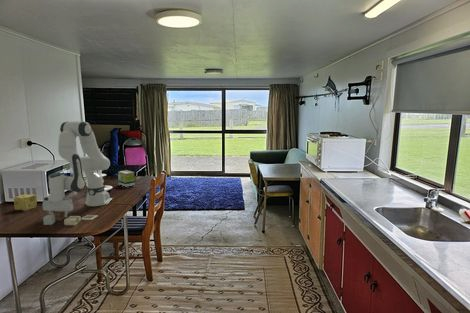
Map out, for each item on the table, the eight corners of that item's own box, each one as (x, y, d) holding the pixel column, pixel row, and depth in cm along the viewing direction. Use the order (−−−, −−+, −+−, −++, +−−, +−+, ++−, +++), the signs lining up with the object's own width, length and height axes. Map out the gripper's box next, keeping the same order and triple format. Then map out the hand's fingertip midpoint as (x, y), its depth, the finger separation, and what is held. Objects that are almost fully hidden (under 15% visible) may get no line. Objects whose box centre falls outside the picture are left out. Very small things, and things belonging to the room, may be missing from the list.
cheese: (26, 211, 219) (24, 198, 218) (13, 210, 221) (12, 197, 220) (37, 206, 229) (36, 194, 228) (25, 206, 231) (24, 193, 230)
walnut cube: (58, 217, 205) (57, 211, 205) (65, 218, 205) (64, 211, 204) (53, 220, 200) (52, 213, 200) (60, 220, 200) (59, 213, 199)
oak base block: (70, 221, 199) (70, 215, 198) (80, 221, 199) (80, 216, 198) (64, 225, 192) (64, 219, 192) (75, 225, 192) (74, 219, 191)
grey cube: (47, 222, 197) (46, 215, 196) (55, 221, 198) (54, 214, 197) (43, 225, 192) (43, 217, 191) (52, 224, 193) (51, 217, 192)
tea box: (118, 185, 300) (117, 171, 298) (127, 183, 308) (126, 169, 306) (125, 187, 290) (125, 173, 288) (135, 186, 298) (134, 171, 296)
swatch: (87, 215, 210) (87, 214, 210) (98, 216, 209) (98, 214, 209) (80, 219, 202) (80, 218, 202) (91, 219, 202) (91, 218, 201)
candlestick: (92, 188, 288) (90, 160, 284) (116, 188, 286) (115, 160, 282) (79, 193, 268) (77, 163, 264) (105, 194, 266) (104, 164, 262)
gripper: (74, 196, 203) (76, 215, 205) (47, 195, 204) (48, 214, 206) (68, 199, 196) (70, 218, 198) (40, 198, 198) (42, 217, 200)
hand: (59, 216), depth 202 cm, fingers open, 8 cm apart
